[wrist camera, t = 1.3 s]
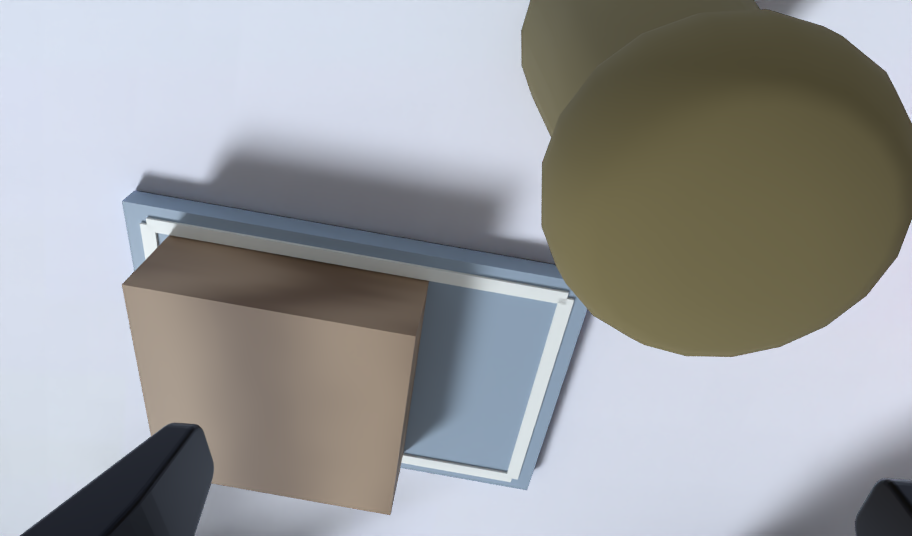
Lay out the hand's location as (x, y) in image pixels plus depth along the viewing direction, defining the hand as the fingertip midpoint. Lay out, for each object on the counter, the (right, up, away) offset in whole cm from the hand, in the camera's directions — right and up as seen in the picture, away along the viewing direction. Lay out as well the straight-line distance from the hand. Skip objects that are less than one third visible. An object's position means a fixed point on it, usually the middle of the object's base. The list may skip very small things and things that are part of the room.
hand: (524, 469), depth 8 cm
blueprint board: (-5, -1, +16) cm, 17 cm away
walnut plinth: (-7, 0, +16) cm, 17 cm away
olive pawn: (+4, +9, +9) cm, 13 cm away
